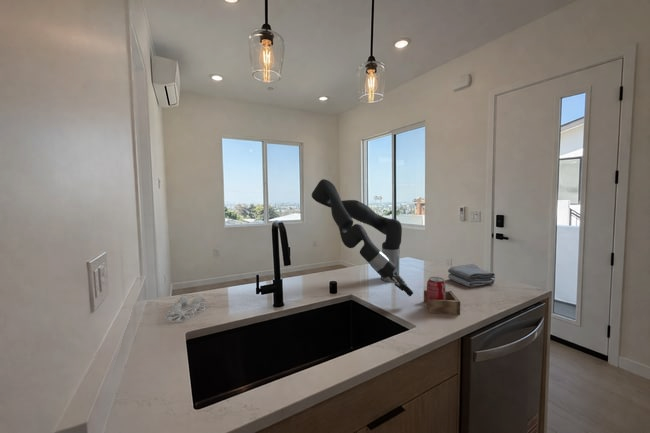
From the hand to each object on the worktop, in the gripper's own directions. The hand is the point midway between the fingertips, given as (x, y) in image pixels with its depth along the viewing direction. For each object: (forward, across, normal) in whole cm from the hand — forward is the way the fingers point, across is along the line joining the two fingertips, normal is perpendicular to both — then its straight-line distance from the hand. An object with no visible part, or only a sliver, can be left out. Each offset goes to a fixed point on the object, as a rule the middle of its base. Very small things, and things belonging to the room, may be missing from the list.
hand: (411, 294), depth 114 cm
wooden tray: (+11, 0, +4) cm, 12 cm away
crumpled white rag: (-59, +17, -68) cm, 91 cm away
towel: (+29, -37, +22) cm, 52 cm away
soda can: (+10, +1, +3) cm, 11 cm away
